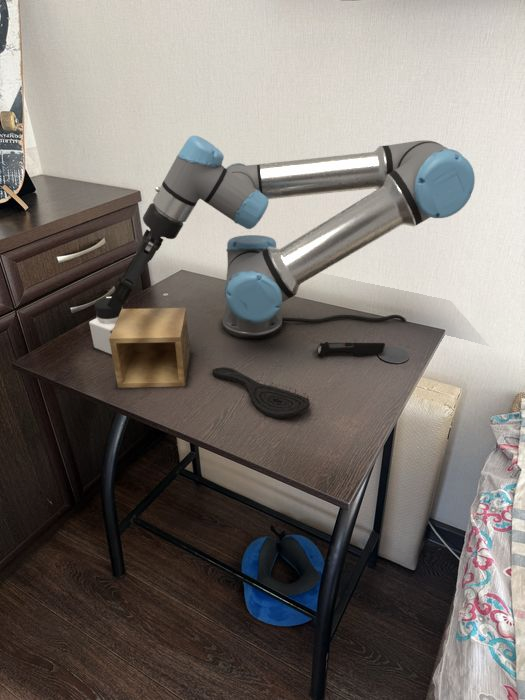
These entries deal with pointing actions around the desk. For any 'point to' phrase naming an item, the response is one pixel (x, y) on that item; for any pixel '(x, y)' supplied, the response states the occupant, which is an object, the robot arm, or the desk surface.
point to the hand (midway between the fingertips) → (120, 294)
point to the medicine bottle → (103, 324)
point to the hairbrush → (267, 395)
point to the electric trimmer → (349, 348)
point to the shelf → (150, 347)
